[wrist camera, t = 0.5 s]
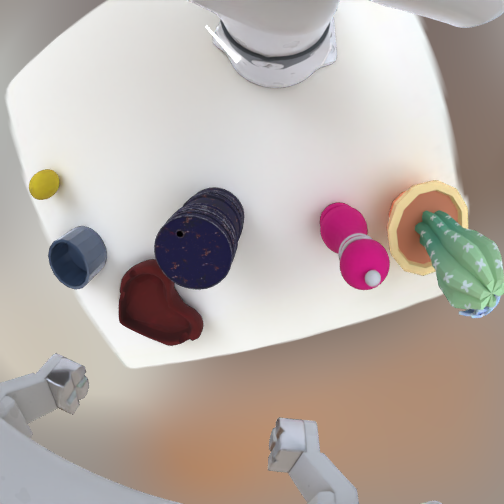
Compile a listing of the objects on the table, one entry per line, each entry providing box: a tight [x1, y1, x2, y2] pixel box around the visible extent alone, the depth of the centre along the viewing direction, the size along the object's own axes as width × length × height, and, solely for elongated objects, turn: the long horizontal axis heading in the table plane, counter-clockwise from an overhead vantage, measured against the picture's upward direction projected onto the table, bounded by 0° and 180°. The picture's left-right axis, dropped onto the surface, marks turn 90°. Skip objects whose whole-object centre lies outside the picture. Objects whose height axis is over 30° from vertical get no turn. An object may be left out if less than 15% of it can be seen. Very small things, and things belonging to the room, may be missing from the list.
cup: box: [48, 226, 107, 289], centre depth 49 cm, size 10×10×7 cm
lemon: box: [29, 169, 60, 200], centre depth 43 cm, size 6×6×8 cm
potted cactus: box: [387, 180, 504, 318], centre depth 34 cm, size 15×15×25 cm
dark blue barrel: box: [154, 188, 244, 289], centre depth 41 cm, size 10×10×15 cm
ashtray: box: [119, 259, 203, 346], centre depth 53 cm, size 18×16×5 cm
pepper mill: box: [320, 203, 390, 290], centre depth 37 cm, size 7×7×20 cm
